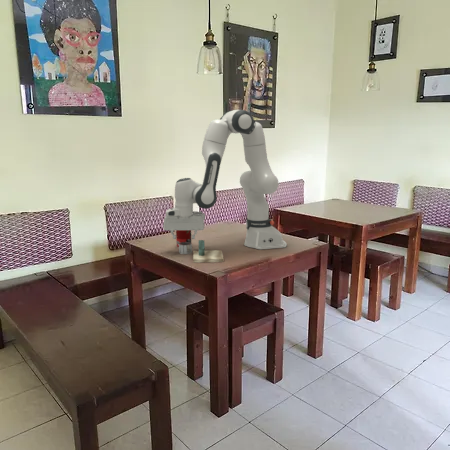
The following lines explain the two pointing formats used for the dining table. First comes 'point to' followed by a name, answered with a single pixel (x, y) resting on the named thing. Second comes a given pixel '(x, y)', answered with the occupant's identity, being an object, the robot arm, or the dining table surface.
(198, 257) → the green peg on board
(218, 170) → the robot arm
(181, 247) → the grey segmented ring
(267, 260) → the dining table surface
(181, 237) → the canned food
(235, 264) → the dining table surface
